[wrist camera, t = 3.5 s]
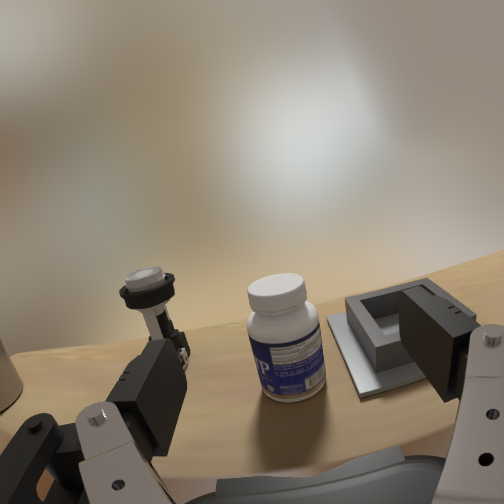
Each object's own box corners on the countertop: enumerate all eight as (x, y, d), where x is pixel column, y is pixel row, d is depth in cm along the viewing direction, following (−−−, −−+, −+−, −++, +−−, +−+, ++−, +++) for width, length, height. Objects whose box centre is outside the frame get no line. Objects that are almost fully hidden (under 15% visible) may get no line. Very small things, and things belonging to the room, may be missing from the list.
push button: (191, 387, 26) (154, 284, 24) (139, 390, 27) (99, 293, 24) (204, 348, 32) (177, 259, 30) (159, 353, 33) (129, 269, 30)
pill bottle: (257, 373, 26) (234, 280, 24) (315, 357, 27) (300, 264, 25) (268, 412, 21) (242, 307, 19) (336, 392, 22) (324, 286, 20)
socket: (360, 398, 20) (359, 367, 20) (327, 320, 33) (323, 294, 32) (498, 348, 19) (503, 317, 19) (432, 293, 32) (432, 268, 31)
